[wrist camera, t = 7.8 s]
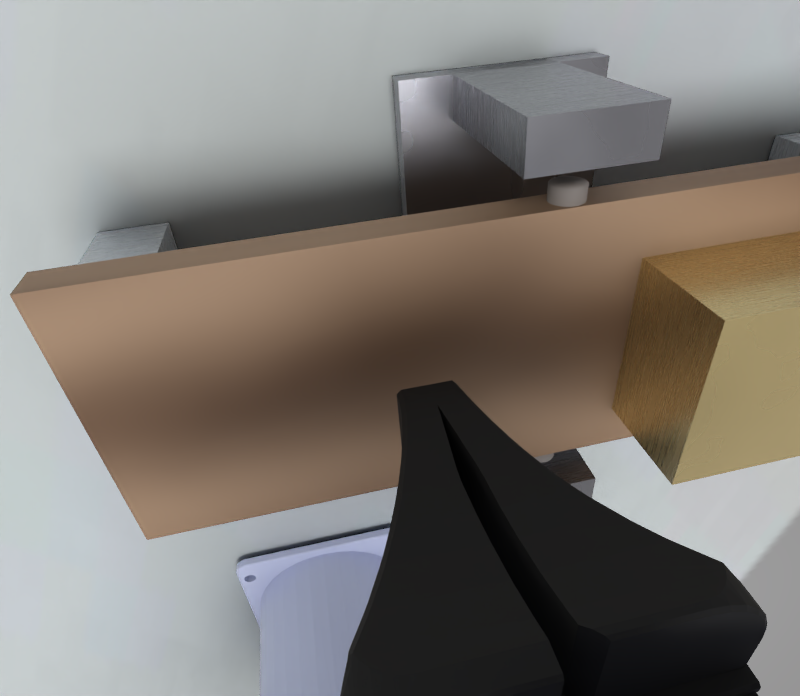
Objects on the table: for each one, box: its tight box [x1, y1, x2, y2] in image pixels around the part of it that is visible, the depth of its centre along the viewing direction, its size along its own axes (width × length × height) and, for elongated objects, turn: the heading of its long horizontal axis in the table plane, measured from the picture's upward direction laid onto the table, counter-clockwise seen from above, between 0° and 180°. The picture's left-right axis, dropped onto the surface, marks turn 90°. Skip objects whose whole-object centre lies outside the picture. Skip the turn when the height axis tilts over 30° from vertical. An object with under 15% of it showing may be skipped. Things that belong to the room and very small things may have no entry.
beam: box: [10, 156, 800, 540], centre depth 14 cm, size 9×24×4 cm, turn 94°
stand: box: [78, 52, 800, 498], centre depth 17 cm, size 12×24×6 cm, turn 94°
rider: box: [612, 231, 800, 485], centre depth 14 cm, size 5×6×3 cm
